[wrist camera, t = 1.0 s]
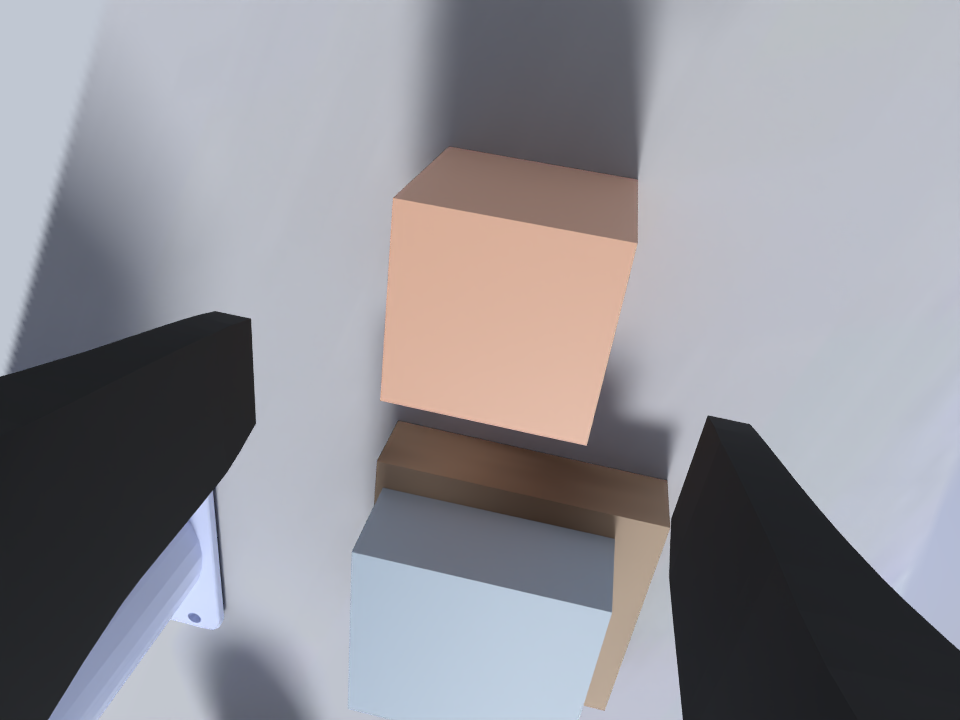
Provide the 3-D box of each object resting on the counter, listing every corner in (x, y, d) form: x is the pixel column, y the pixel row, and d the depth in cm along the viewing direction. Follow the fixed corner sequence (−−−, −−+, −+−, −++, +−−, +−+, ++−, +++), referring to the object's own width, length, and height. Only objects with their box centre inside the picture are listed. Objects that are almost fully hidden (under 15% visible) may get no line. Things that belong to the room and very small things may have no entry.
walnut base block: (387, 591, 25) (364, 649, 23) (403, 411, 21) (376, 461, 19) (607, 645, 25) (604, 710, 22) (666, 469, 20) (670, 527, 18)
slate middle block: (374, 639, 23) (347, 708, 21) (382, 487, 20) (351, 551, 17) (572, 687, 22) (565, 765, 20) (614, 538, 19) (612, 612, 17)
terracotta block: (433, 313, 19) (380, 400, 15) (449, 145, 17) (392, 197, 13) (597, 346, 19) (586, 445, 15) (637, 178, 16) (637, 243, 12)
